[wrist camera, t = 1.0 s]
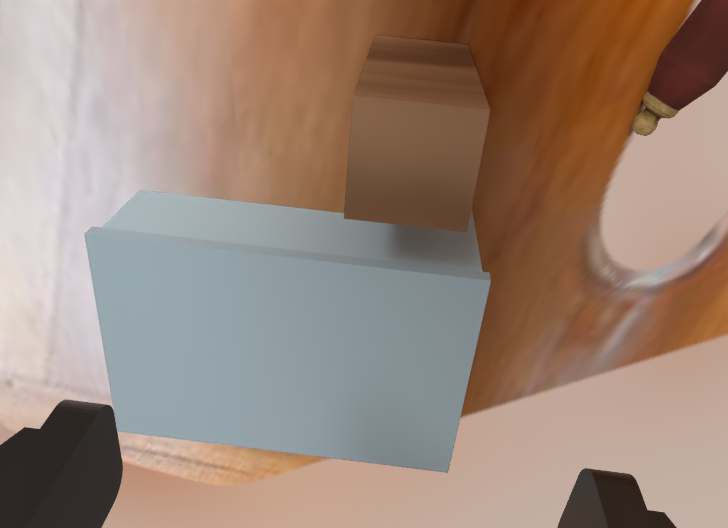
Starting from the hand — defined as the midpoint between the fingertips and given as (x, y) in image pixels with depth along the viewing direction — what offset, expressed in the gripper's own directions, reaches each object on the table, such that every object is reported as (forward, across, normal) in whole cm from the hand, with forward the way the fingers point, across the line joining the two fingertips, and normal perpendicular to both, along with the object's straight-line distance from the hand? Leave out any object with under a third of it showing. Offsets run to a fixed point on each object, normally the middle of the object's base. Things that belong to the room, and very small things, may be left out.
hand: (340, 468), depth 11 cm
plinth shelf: (+20, +3, +9) cm, 22 cm away
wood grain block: (+20, -1, +5) cm, 21 cm away
